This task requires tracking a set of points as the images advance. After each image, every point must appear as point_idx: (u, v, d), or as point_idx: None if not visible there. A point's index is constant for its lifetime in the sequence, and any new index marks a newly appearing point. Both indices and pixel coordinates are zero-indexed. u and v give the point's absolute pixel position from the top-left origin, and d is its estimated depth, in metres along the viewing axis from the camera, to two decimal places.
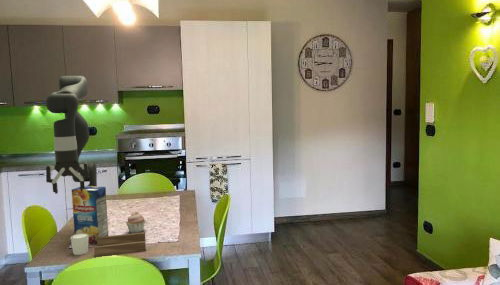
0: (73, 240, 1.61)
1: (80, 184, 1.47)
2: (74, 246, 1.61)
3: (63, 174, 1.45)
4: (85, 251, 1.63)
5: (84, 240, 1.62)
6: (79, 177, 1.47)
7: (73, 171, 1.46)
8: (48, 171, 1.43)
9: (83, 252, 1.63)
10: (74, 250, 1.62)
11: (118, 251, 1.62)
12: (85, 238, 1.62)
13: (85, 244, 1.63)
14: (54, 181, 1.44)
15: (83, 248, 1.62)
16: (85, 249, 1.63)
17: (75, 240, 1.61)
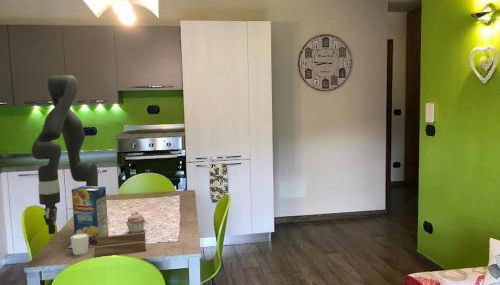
0: (73, 240, 1.61)
1: (54, 226, 1.61)
2: (74, 246, 1.61)
3: None
4: (85, 251, 1.63)
5: (84, 240, 1.62)
6: (54, 219, 1.61)
7: (55, 211, 1.62)
8: (51, 217, 1.56)
9: (83, 252, 1.63)
10: (74, 250, 1.62)
11: (118, 251, 1.62)
12: (85, 238, 1.62)
13: (85, 244, 1.63)
14: (54, 222, 1.60)
15: (83, 248, 1.62)
16: (85, 249, 1.63)
17: (75, 240, 1.61)
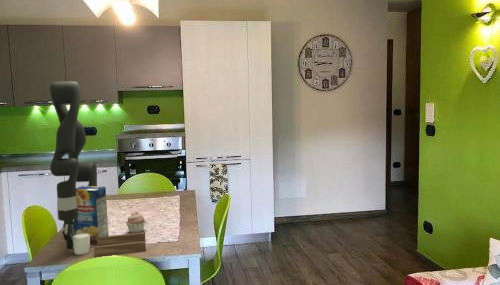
0: (75, 240, 1.61)
1: (72, 241, 1.63)
2: (76, 246, 1.61)
3: None
4: (87, 251, 1.63)
5: (86, 240, 1.62)
6: (72, 234, 1.64)
7: (73, 226, 1.64)
8: (70, 233, 1.58)
9: (85, 252, 1.63)
10: (76, 250, 1.62)
11: (118, 251, 1.62)
12: (87, 238, 1.63)
13: (87, 244, 1.63)
14: None
15: (85, 248, 1.63)
16: (87, 249, 1.63)
17: (77, 240, 1.61)
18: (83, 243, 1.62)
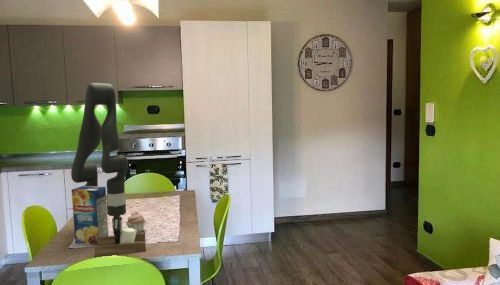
0: (124, 233, 1.66)
1: None
2: (123, 239, 1.66)
3: None
4: None
5: (134, 234, 1.68)
6: None
7: None
8: (119, 228, 1.63)
9: None
10: None
11: (118, 251, 1.62)
12: (134, 233, 1.68)
13: (133, 238, 1.68)
14: None
15: None
16: None
17: (125, 234, 1.66)
18: (131, 237, 1.67)
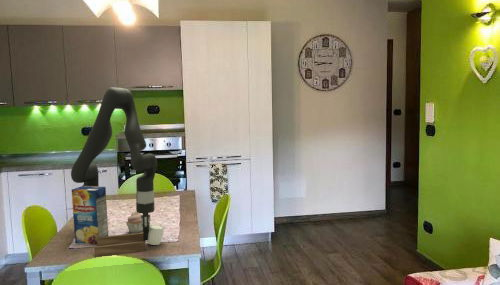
0: (152, 230, 1.69)
1: None
2: (152, 236, 1.69)
3: None
4: (159, 242, 1.72)
5: (161, 231, 1.71)
6: None
7: None
8: (148, 225, 1.66)
9: (158, 243, 1.71)
10: (151, 240, 1.70)
11: (118, 251, 1.62)
12: (162, 230, 1.71)
13: (161, 235, 1.72)
14: None
15: (159, 239, 1.71)
16: (160, 240, 1.72)
17: (154, 231, 1.69)
18: (159, 234, 1.70)
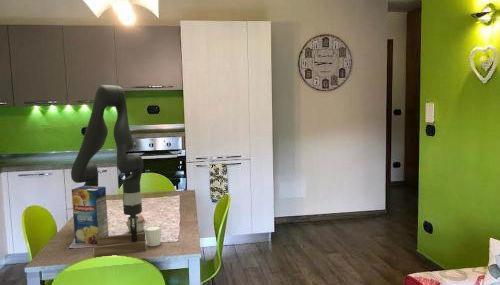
0: (149, 232, 1.69)
1: (136, 235, 1.71)
2: (150, 238, 1.69)
3: None
4: (159, 242, 1.72)
5: (159, 232, 1.71)
6: None
7: None
8: (136, 226, 1.65)
9: (158, 243, 1.71)
10: (150, 242, 1.70)
11: (118, 251, 1.62)
12: (159, 230, 1.71)
13: (159, 235, 1.71)
14: None
15: (158, 240, 1.71)
16: (159, 240, 1.72)
17: (151, 232, 1.69)
18: (157, 235, 1.70)
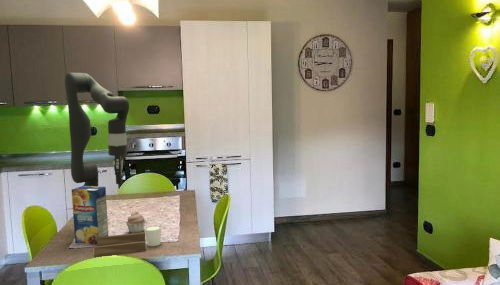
0: (149, 232, 1.69)
1: None
2: (150, 238, 1.69)
3: None
4: (159, 242, 1.72)
5: (159, 232, 1.71)
6: (121, 170, 1.72)
7: (122, 163, 1.72)
8: (120, 167, 1.66)
9: (158, 243, 1.71)
10: (150, 242, 1.70)
11: (118, 251, 1.62)
12: (159, 230, 1.71)
13: (159, 235, 1.71)
14: (121, 173, 1.71)
15: (158, 240, 1.71)
16: (159, 240, 1.72)
17: (151, 232, 1.69)
18: (157, 235, 1.70)
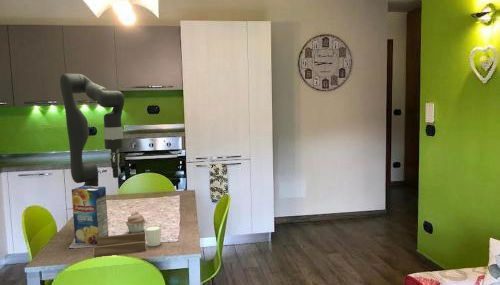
0: (149, 232, 1.69)
1: None
2: (150, 238, 1.69)
3: (117, 158, 1.72)
4: (159, 242, 1.72)
5: (159, 232, 1.71)
6: None
7: None
8: (117, 161, 1.67)
9: (158, 243, 1.71)
10: (150, 242, 1.70)
11: (118, 251, 1.62)
12: (159, 230, 1.71)
13: (159, 235, 1.71)
14: (118, 167, 1.71)
15: (158, 240, 1.71)
16: (159, 240, 1.72)
17: (151, 232, 1.69)
18: (157, 235, 1.70)
